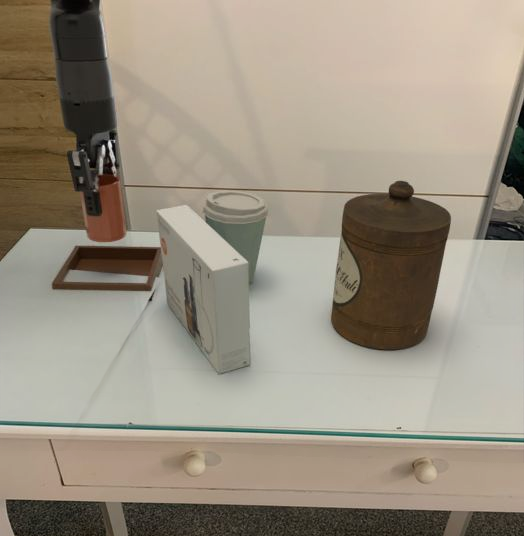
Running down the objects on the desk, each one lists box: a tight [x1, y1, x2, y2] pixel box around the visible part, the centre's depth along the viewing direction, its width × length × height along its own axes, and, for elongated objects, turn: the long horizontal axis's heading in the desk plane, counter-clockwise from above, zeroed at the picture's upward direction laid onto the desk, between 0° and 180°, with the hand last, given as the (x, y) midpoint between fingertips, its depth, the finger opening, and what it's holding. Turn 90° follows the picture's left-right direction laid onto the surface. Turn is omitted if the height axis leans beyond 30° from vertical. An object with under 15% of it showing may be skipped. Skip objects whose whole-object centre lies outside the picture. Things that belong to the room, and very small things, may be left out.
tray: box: [51, 245, 163, 301], centre depth 95 cm, size 16×15×3 cm
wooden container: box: [330, 180, 452, 350], centre depth 80 cm, size 15×15×22 cm
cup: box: [79, 174, 128, 243], centre depth 88 cm, size 6×6×9 cm
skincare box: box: [155, 204, 252, 375], centre depth 78 cm, size 21×6×16 cm, turn 27°
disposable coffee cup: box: [202, 189, 269, 286], centre depth 92 cm, size 11×11×15 cm
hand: (102, 207), depth 88 cm, fingers closed on cup, 6 cm apart
